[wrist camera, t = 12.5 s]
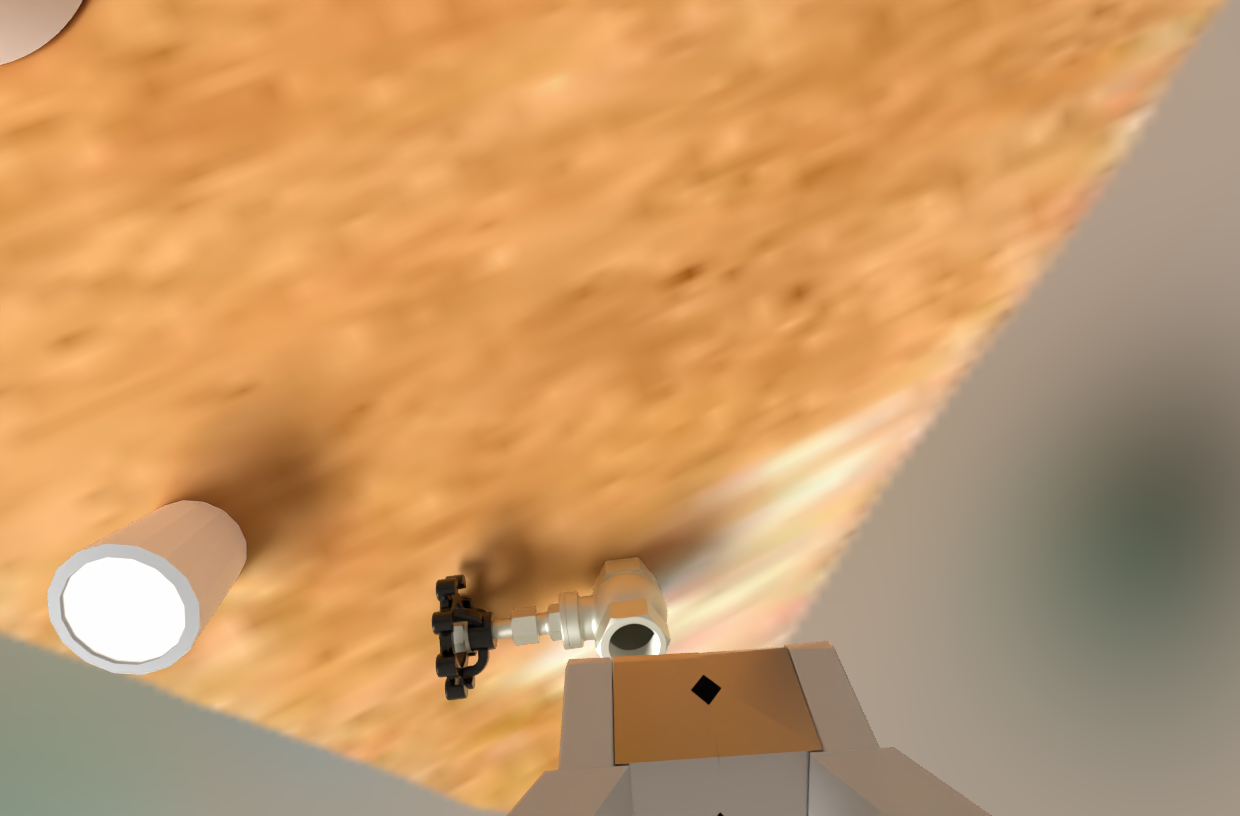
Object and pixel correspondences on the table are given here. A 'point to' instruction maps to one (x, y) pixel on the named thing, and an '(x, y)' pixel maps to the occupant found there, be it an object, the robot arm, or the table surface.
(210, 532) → the white cylinder
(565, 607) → the valve
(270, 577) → the table surface
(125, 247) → the table surface
